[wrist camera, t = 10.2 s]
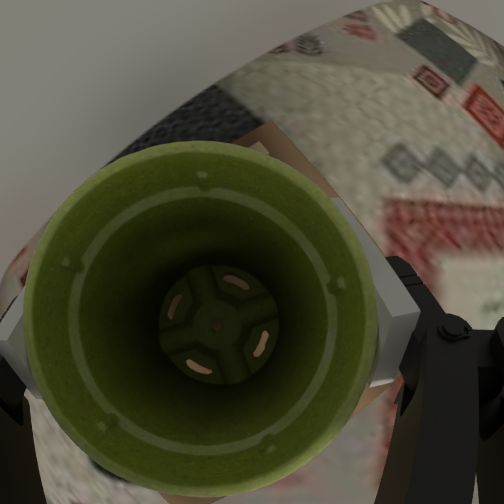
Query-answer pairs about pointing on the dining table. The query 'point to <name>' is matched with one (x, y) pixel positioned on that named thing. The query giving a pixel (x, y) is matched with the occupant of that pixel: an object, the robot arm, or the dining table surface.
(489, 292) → the dining table surface
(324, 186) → the pot stand
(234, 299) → the plant pot
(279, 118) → the dining table surface
